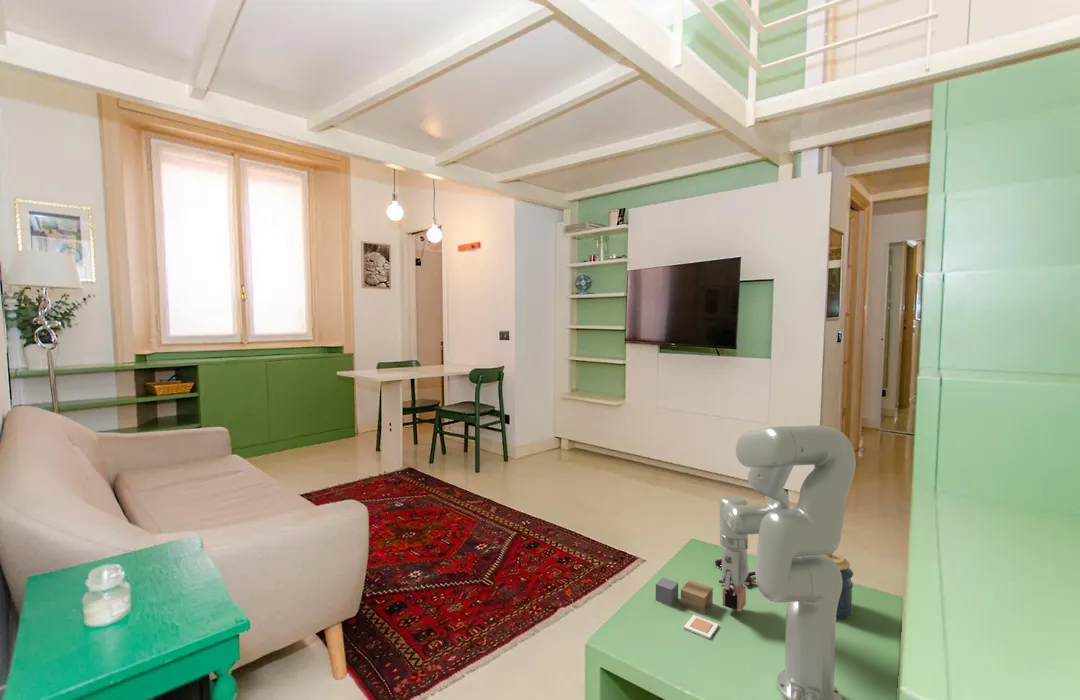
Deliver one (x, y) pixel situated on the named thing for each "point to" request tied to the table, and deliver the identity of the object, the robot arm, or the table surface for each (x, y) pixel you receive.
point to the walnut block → (696, 596)
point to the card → (701, 626)
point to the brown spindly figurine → (748, 579)
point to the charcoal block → (667, 591)
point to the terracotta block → (738, 597)
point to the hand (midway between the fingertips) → (734, 602)
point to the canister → (844, 586)
